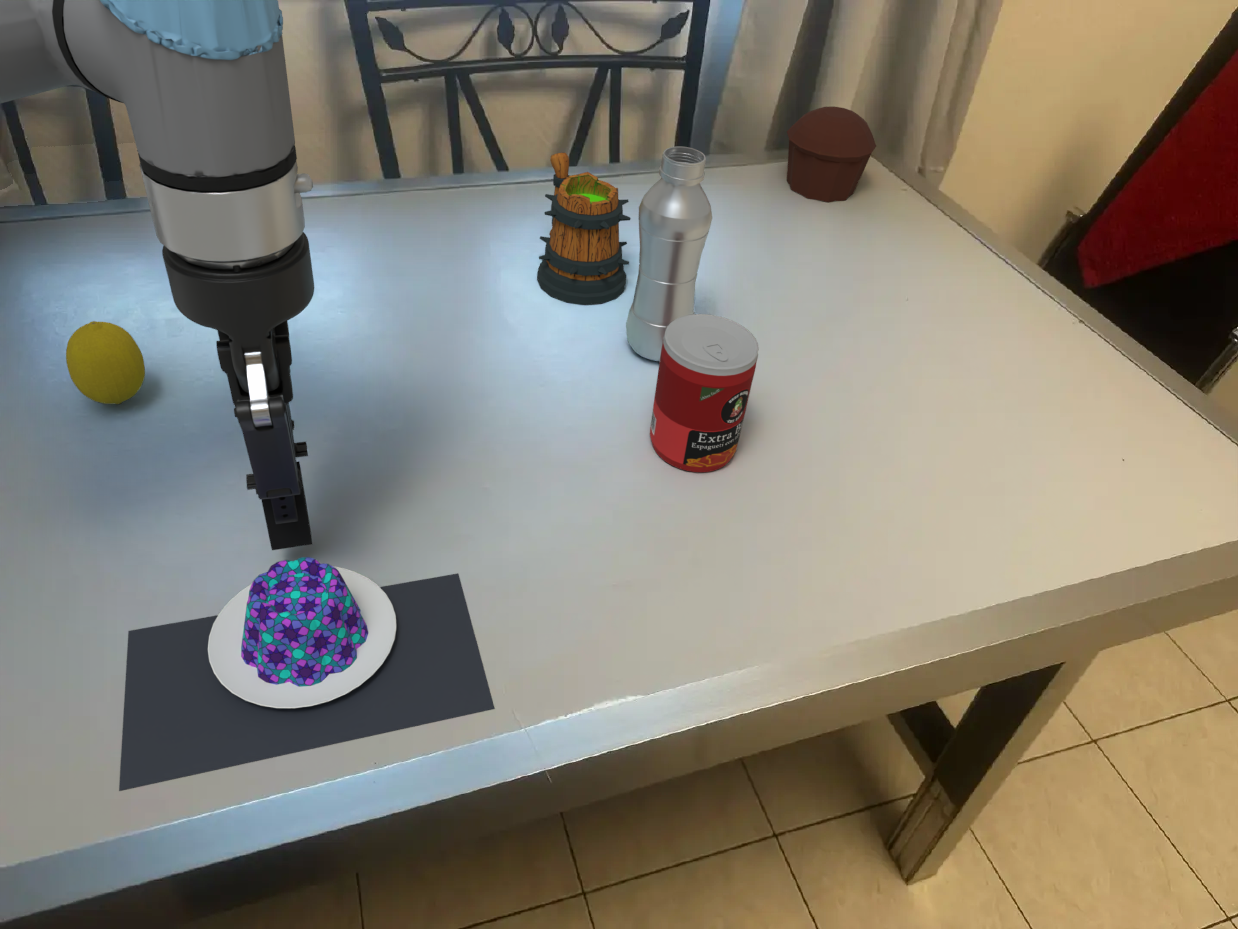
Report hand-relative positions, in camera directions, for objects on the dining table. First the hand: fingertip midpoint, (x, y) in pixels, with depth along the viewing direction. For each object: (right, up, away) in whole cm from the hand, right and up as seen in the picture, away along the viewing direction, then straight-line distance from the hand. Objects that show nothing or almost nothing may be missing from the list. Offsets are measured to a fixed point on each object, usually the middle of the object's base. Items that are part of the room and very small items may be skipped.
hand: (291, 539), depth 67 cm
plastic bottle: (+27, +16, +27) cm, 41 cm away
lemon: (-19, +10, +14) cm, 26 cm away
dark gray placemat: (+3, -8, -5) cm, 10 cm away
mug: (+18, +26, +37) cm, 48 cm away
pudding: (+2, -7, -3) cm, 7 cm away
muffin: (+50, +42, +59) cm, 88 cm away
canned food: (+29, +7, +16) cm, 34 cm away
